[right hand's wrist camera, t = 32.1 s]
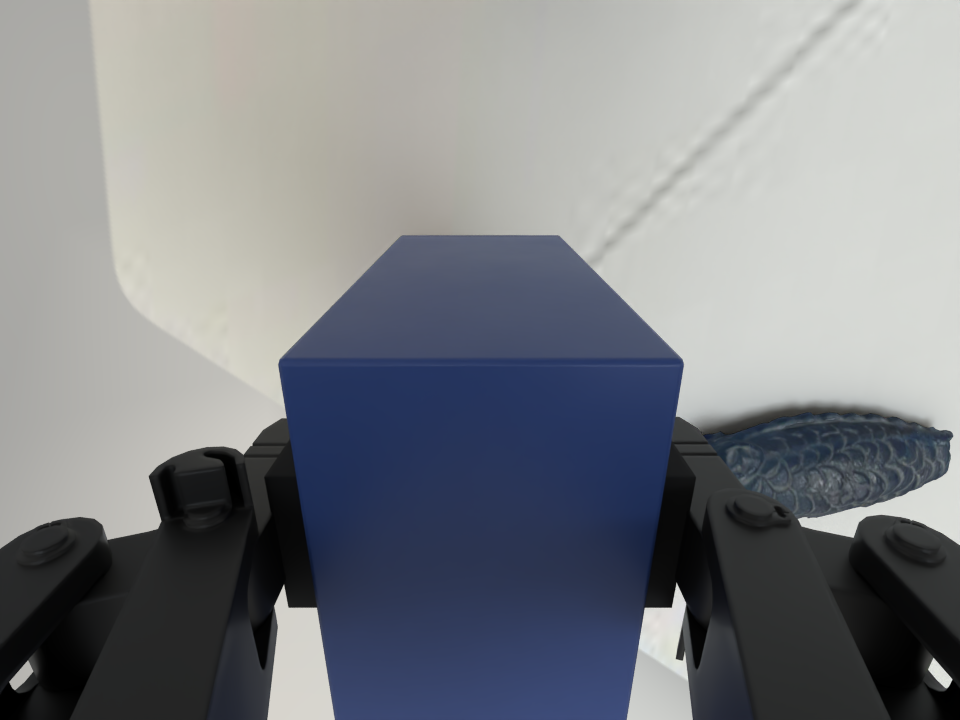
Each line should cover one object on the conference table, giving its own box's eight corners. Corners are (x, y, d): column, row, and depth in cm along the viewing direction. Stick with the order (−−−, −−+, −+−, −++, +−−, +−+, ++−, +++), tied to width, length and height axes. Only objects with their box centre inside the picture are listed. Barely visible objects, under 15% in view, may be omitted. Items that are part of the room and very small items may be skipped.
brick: (411, 434, 19) (336, 742, 9) (400, 235, 17) (273, 360, 6) (548, 434, 19) (624, 742, 9) (560, 234, 17) (687, 360, 6)
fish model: (619, 419, 33) (643, 462, 29) (944, 391, 33) (1021, 431, 28) (618, 501, 36) (639, 554, 31) (919, 477, 36) (986, 526, 31)
